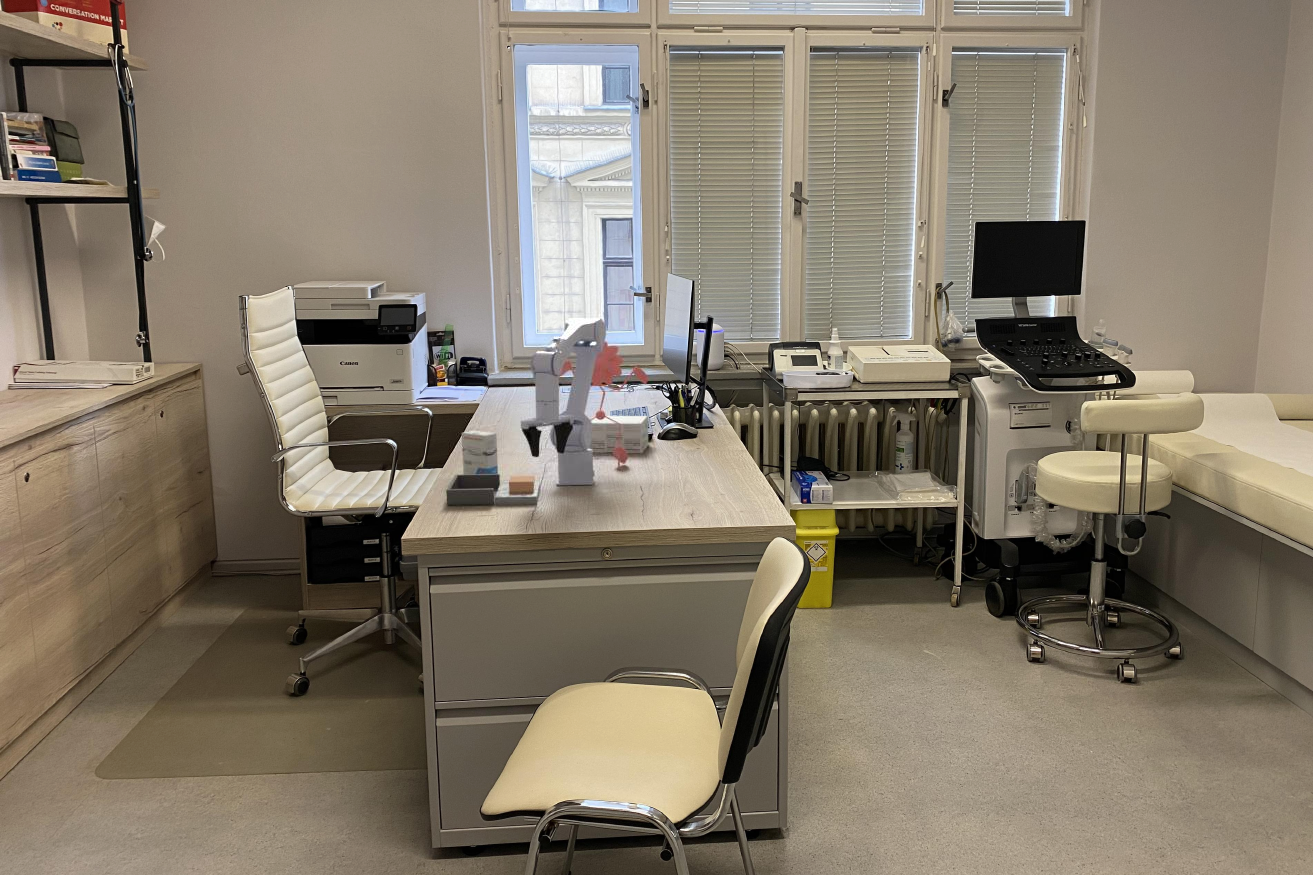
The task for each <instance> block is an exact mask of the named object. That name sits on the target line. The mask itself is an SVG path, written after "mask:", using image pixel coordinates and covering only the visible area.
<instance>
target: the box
mask: <svg viewBox="0 0 1313 875" xmlns="http://www.w3.org/2000/svg"><path fill="white" fill-rule="evenodd" d="M500 480H501V476H500V473H498V474H463V473H462V474H454V475H453V478H452V479H451V481H450V483H449V485H448V487H447V488H446V490H445V491H446V493H445V494H446V506H447V507H476V506H477V507H479V506H480V507H482V506H495V496H496V493H497V491H498V488H499V485H500V483H501V481H500Z"/></svg>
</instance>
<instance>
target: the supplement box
mask: <svg viewBox="0 0 1313 875" xmlns="http://www.w3.org/2000/svg"><path fill="white" fill-rule="evenodd" d="M595 416H596V415H594V416H593V417H592V418H594V417H595ZM606 416H607V417H609V418H610V419H612V420H614V421H616V422H618V423H620V425H621V433H620V446H619V447H622V448H623V449H624V450H625V451H626V452H627V454H643V453H644V451H645V449H646V448H647V447H648V446H649V421H648V420H649V419H648V418H649V416H648V415H606ZM610 419H608V418H606V417H605V418H604V419H602V420H598V419H597V418H595V419H593V420H592V421H591V422H592V425H593V427H592V441H591V444H590V445H589V447H588V448H590V449H593V453H603V452H613V451H614V448H615V447H618V442H619V429H620V425H619V424H617V423H615V422H613V421H611V420H610Z"/></svg>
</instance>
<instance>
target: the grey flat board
mask: <svg viewBox="0 0 1313 875" xmlns="http://www.w3.org/2000/svg"><path fill="white" fill-rule="evenodd" d="M540 492H541V480H535V488H534V491H531V492H509V481H508V480H507V481H506V480H505V481H503V480H501V481H500V485H499V488H498V491H497V493H496V496H495V504H494V506H526V505H527V506H532V505H535V506H536V505H538V502H539V496H540Z"/></svg>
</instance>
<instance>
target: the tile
mask: <svg viewBox="0 0 1313 875" xmlns="http://www.w3.org/2000/svg"><path fill="white" fill-rule="evenodd" d="M508 480H509V492H531V491H534V488H535V481H536V476H535V475H516V476H515V475H514V476H511V475H510V478H509V479H508Z"/></svg>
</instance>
